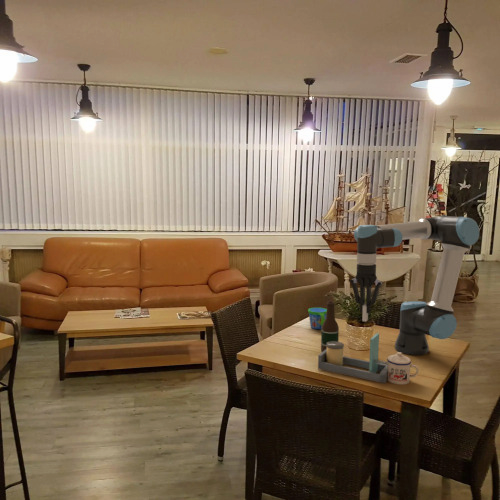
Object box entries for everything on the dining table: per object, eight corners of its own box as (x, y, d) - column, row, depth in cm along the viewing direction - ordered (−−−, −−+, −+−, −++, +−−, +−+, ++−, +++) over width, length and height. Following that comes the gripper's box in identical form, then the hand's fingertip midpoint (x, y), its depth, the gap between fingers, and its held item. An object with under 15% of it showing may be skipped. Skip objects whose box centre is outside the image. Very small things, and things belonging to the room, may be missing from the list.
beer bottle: (337, 356, 209) (339, 305, 206) (320, 355, 210) (321, 304, 207) (338, 350, 216) (339, 300, 213) (321, 349, 218) (322, 300, 215)
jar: (342, 364, 200) (343, 341, 199) (343, 370, 193) (343, 347, 192) (326, 362, 202) (326, 340, 200) (325, 369, 195) (326, 346, 193)
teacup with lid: (385, 383, 181) (386, 355, 180) (386, 375, 190) (387, 347, 188) (418, 388, 177) (419, 359, 176) (417, 379, 186) (419, 351, 184)
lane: (392, 373, 191) (393, 359, 190) (384, 383, 181) (385, 368, 180) (328, 359, 205) (329, 346, 204) (318, 368, 195) (318, 355, 194)
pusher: (392, 373, 189) (394, 335, 187) (386, 381, 182) (388, 342, 180) (375, 370, 193) (376, 333, 191) (368, 377, 185) (370, 339, 183)
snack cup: (304, 323, 260) (305, 306, 258) (322, 323, 261) (323, 305, 259) (311, 332, 244) (312, 313, 243) (331, 331, 245) (331, 313, 244)
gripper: (385, 263, 185) (383, 320, 188) (353, 260, 192) (352, 316, 195) (380, 266, 179) (378, 325, 182) (347, 263, 185) (346, 320, 189)
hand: (365, 320), depth 189 cm, fingers closed
